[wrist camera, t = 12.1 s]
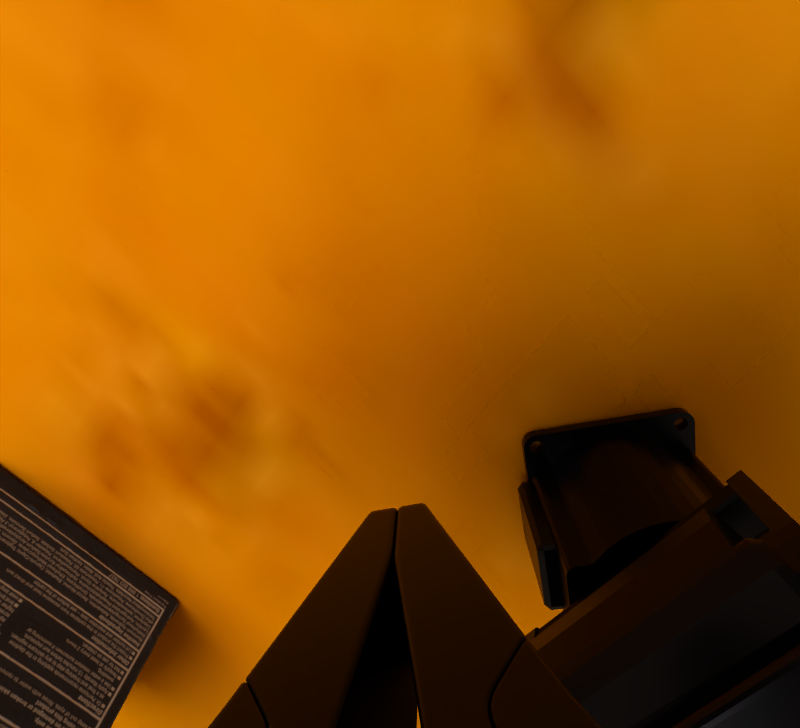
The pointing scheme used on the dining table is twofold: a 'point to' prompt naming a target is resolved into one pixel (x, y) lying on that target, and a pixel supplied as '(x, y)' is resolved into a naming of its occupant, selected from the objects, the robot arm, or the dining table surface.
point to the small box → (68, 618)
